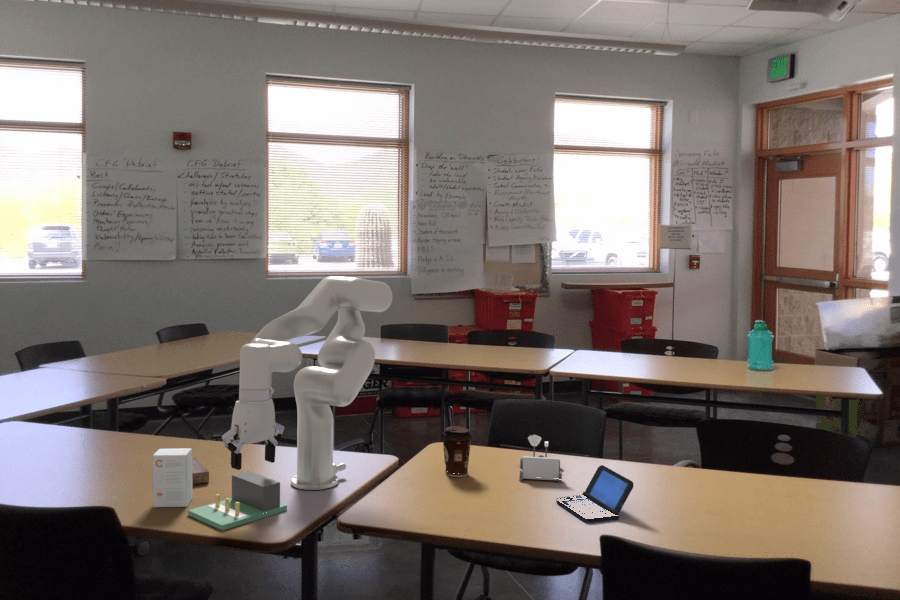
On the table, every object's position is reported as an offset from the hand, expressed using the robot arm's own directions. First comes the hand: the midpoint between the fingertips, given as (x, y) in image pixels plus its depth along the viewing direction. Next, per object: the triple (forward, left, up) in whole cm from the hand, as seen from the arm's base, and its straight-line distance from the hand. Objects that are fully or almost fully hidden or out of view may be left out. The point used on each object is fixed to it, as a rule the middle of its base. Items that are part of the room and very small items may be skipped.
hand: (253, 465), depth 188 cm
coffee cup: (-56, +18, -11) cm, 60 cm away
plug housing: (-1, 0, -10) cm, 10 cm away
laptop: (-57, +61, -11) cm, 84 cm away
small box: (+11, -17, -11) cm, 23 cm away
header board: (+4, 0, -11) cm, 12 cm away
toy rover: (-74, +34, -12) cm, 82 cm away
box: (-1, -34, -12) cm, 36 cm away
